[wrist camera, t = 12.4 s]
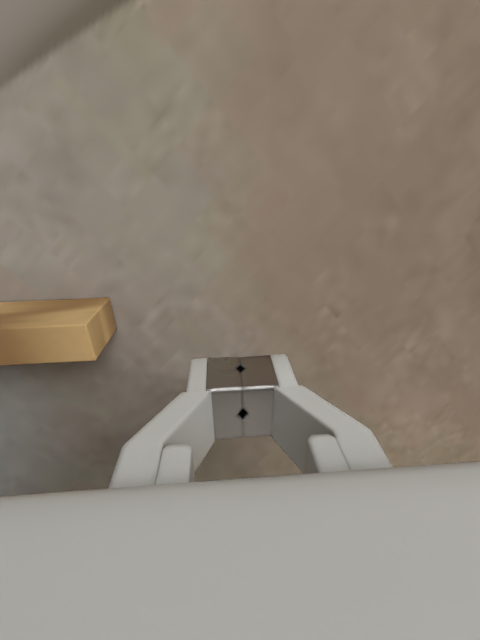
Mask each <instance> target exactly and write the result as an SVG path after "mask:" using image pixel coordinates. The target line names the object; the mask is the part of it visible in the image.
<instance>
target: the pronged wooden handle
mask: <svg viewBox="0 0 480 640" xmlns="http://www.w3.org/2000/svg"><path fill="white" fill-rule="evenodd" d="M116 329H117V328H116V323H115V319H114V315H113V310H112V306H111V302H110V298H86V299H63V300H39V301H16V302H0V366H2V365H21V364H40V363H60V362H79V361H95V360H96V359H97V358H98V356H99V355H100V353H101V352H102V350H103V349H104V347H105V346H106V344H107V343H108V341H109V340H110V338H111V337H112V335H113V334H114V332H115V331H116Z"/></svg>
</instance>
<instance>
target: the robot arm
mask: <svg viewBox="0 0 480 640" xmlns="http://www.w3.org/2000/svg"><path fill="white" fill-rule="evenodd" d="M258 436H272V438H273V439H274V441H275V442H276V443H277V444H278V445H279V446H280V447H281V448H282V450H283V451H284V452H285V453H286V454H287V455H288V456H289V457H290V459H291V460H292V461H293V462H294V463H295V464H296V465H297V466H298V468H299V469H300V470H301V471H302V472H303V474H295V475H282V476H268V477H255V478H242V479H228V480H215V481H202V482H196V481H195V472H196V470H197V469H198V467H199V466H200V464H201V462H202V461H203V459H204V458H205V456H206V455H207V453H208V451H209V450H210V448H211V447H212V445H213V443H214V442H215V440H217V439H228V438H238V437H258ZM0 640H480V461H471V462H458V463H445V464H432V465H418V466H405V467H392V465H391V463H390V462H389V460H388V458H387V456H386V455H385V453H384V451H383V450H382V448H381V446H380V445H379V443H378V441H377V440H376V438H375V436H374V434H373V433H372V431H371V430H370V429H369V428H367V427H366V426H364V425H362V424H361V423H359V422H358V421H356V420H355V419H353V418H352V417H350V416H349V415H347V414H346V413H344V412H343V411H341V410H340V409H338V408H337V407H335V406H333V405H332V404H330V403H329V402H327V401H326V400H324V399H323V398H321V397H320V396H318V395H317V394H315V393H314V392H312V391H311V390H309V389H308V388H306V387H305V386H298V383H297V381H296V378H295V376H294V373H293V370H292V368H291V365H290V363H289V360H288V358H287V355H286V354H276V355H267V356H252V357H222V358H208V359H207V358H195V359H191V361H190V366H189V374H188V381H187V389H186V392H181V393H180V394H179V395H178V396H177V397H176V398H175V399H173V400H172V401H171V402H170V403H169V404H168V405H167V406H166V407H165V408H164V409H162V410H161V411H160V412H159V413H158V414H157V415H156V416H155V417H154V418H153V419H151V420H150V421H149V422H148V423H147V424H146V425H145V426H144V427H143V428H142V429H141V430H139V431H138V432H137V433H136V434H135V435H134V436H133V437H132V438H131V439H130V440H128V441H127V442H126V443H125V444H124V445H123V446H122V449H121V452H120V455H119V458H118V461H117V464H116V466H115V469H114V472H113V475H112V478H111V481H110V484H109V487H108V489H94V490H81V491H67V492H54V493H40V494H27V495H13V496H0Z"/></svg>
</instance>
